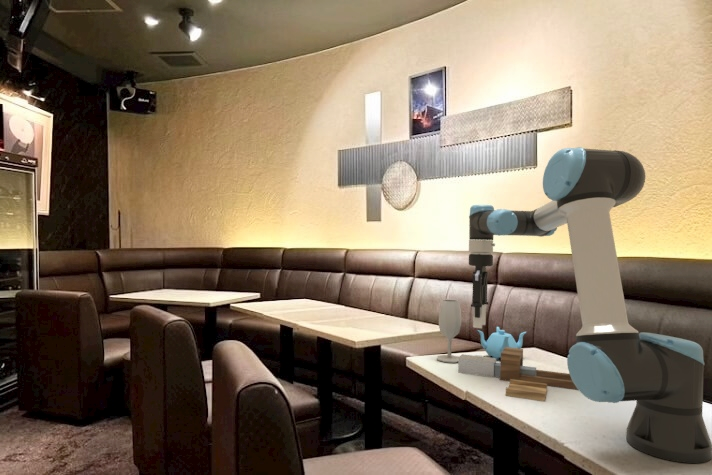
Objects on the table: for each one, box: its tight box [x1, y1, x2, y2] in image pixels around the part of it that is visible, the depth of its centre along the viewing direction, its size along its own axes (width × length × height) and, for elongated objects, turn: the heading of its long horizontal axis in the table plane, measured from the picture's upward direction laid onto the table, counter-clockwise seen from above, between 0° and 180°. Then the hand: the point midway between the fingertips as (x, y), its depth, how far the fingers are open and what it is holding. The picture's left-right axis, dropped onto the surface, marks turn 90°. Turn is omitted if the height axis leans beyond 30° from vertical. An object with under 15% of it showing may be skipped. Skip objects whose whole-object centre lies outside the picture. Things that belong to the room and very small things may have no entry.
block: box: [457, 353, 497, 378], centre depth 157 cm, size 11×5×5 cm, turn 66°
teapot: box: [476, 326, 527, 361], centre depth 176 cm, size 13×13×10 cm
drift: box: [493, 362, 537, 378], centre depth 152 cm, size 12×4×4 cm, turn 65°
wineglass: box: [436, 298, 462, 364], centre depth 172 cm, size 9×9×21 cm
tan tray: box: [505, 379, 548, 402], centre depth 137 cm, size 10×10×2 cm
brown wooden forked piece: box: [499, 347, 580, 391], centre depth 149 cm, size 10×24×8 cm, turn 66°
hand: (479, 326), depth 157 cm, fingers open, 5 cm apart
